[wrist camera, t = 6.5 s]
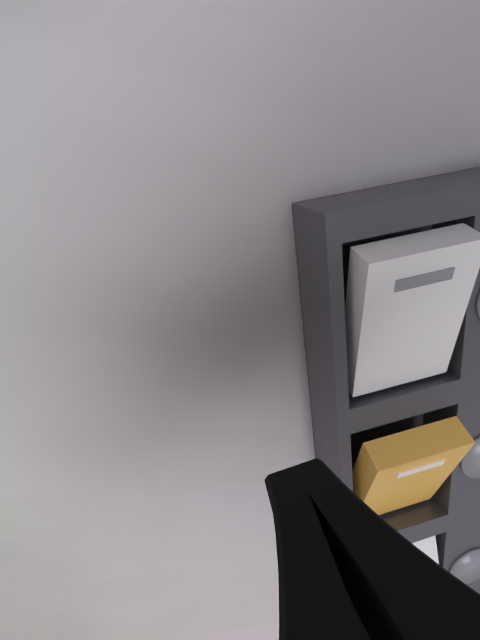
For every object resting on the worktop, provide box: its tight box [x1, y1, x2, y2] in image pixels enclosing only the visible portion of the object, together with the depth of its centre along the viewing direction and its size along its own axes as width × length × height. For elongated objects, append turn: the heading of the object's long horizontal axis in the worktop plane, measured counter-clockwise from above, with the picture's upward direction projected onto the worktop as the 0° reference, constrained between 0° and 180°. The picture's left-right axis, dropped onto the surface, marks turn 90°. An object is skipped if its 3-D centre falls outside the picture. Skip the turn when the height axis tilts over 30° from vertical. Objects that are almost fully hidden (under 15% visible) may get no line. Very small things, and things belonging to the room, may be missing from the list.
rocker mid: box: [352, 416, 475, 515], centre depth 21 cm, size 5×7×2 cm
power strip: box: [292, 167, 480, 594], centre depth 23 cm, size 10×32×4 cm, turn 9°
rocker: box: [345, 223, 480, 397], centre depth 17 cm, size 5×7×2 cm
